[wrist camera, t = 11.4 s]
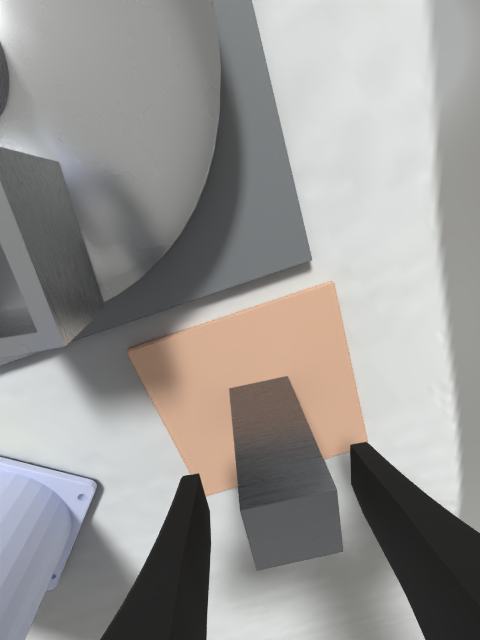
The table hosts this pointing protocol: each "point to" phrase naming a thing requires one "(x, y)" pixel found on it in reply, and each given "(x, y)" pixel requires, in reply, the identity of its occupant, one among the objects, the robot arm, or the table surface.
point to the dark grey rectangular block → (281, 477)
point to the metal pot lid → (97, 152)
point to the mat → (253, 378)
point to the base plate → (227, 193)
